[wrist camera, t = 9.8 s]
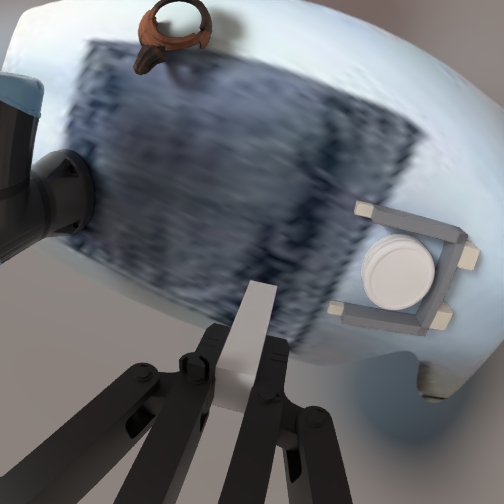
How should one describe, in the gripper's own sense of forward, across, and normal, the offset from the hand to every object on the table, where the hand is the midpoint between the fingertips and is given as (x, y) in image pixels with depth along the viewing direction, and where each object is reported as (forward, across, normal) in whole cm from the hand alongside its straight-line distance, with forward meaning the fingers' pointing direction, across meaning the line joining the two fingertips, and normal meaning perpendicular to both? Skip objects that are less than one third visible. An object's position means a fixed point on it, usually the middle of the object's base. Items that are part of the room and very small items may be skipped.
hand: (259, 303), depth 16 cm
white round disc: (+21, +16, -5) cm, 27 cm away
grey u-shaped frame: (+21, +18, -5) cm, 28 cm away
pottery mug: (+22, -18, +20) cm, 35 cm away
